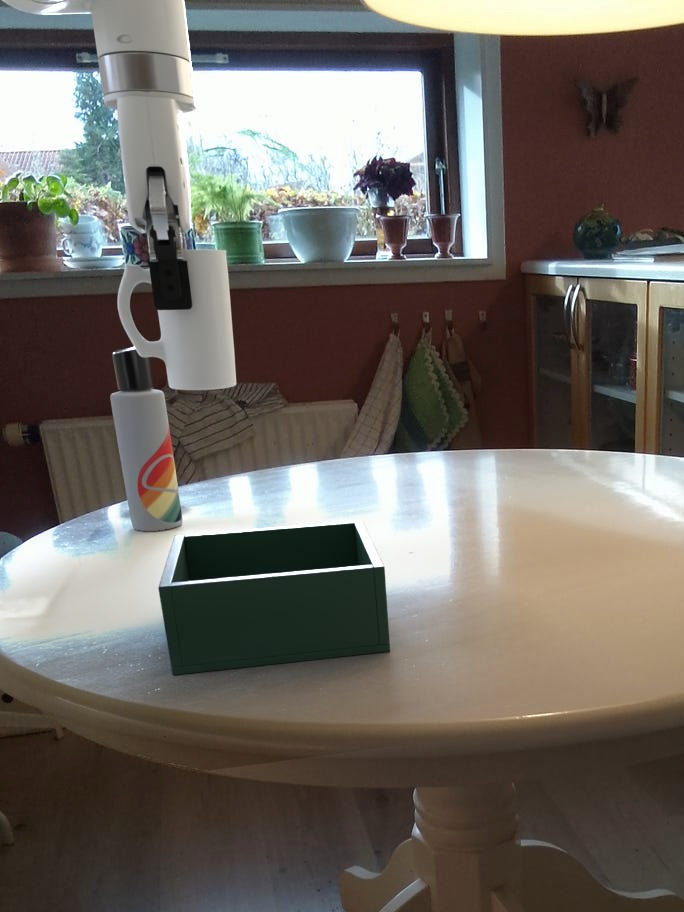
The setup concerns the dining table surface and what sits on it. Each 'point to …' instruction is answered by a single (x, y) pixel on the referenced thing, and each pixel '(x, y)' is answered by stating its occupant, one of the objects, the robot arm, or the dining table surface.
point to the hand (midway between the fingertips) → (176, 307)
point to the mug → (190, 325)
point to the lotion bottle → (144, 445)
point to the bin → (273, 596)
